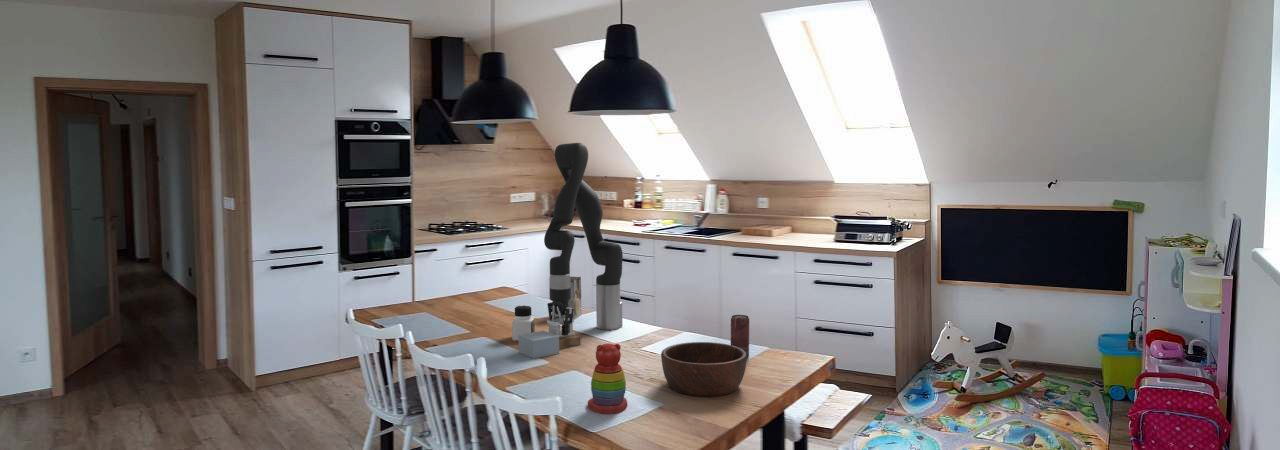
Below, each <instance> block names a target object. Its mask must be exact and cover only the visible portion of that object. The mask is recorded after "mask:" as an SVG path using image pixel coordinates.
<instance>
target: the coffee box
mask: <svg viewBox="0 0 1280 450" xmlns="http://www.w3.org/2000/svg"><path fill="white" fill-rule="evenodd" d="M581 278H582V276H570V279H571V299H570V300H569V301H568V305H569V307H570V308H573V309H574V311H573V319H574V320H576V319H577V318H579V317H580V316H581V315H582V279H581ZM562 316H565V315H562ZM575 318H576V319H575Z"/></svg>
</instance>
